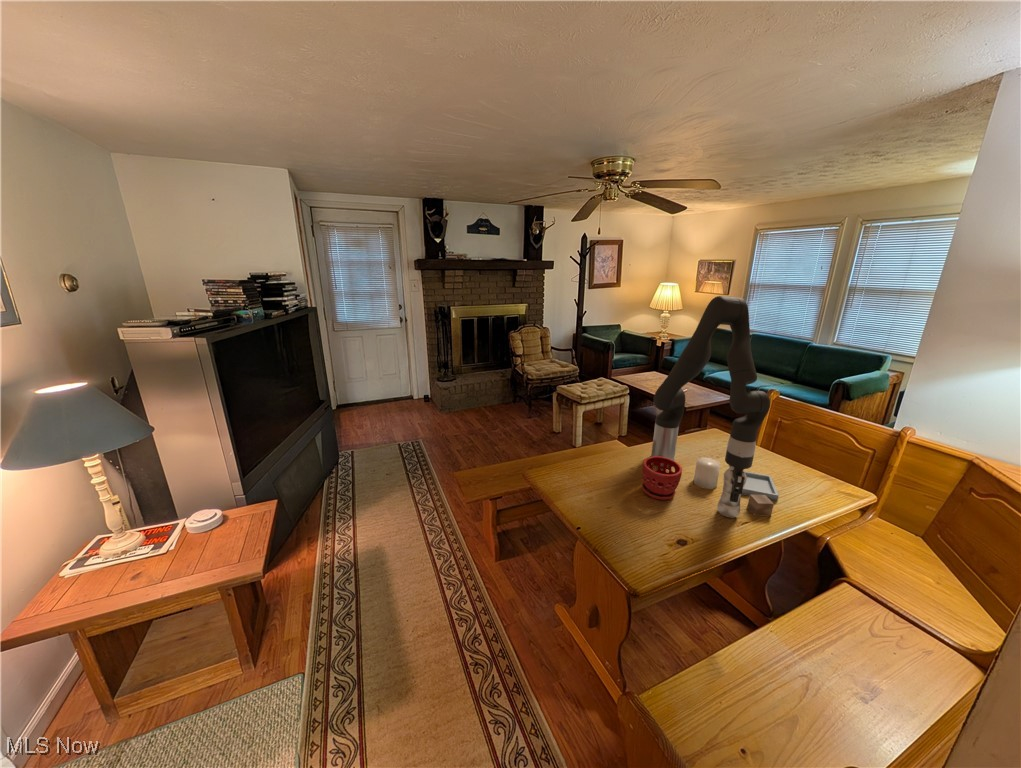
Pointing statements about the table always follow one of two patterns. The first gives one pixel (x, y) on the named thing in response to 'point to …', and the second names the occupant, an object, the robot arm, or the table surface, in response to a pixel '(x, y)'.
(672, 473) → the plant pot
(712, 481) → the white domed cylinder
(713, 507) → the table surface
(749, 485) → the tray
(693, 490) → the table surface
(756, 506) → the walnut block
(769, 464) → the table surface
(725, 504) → the plastic bottle
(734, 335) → the robot arm
